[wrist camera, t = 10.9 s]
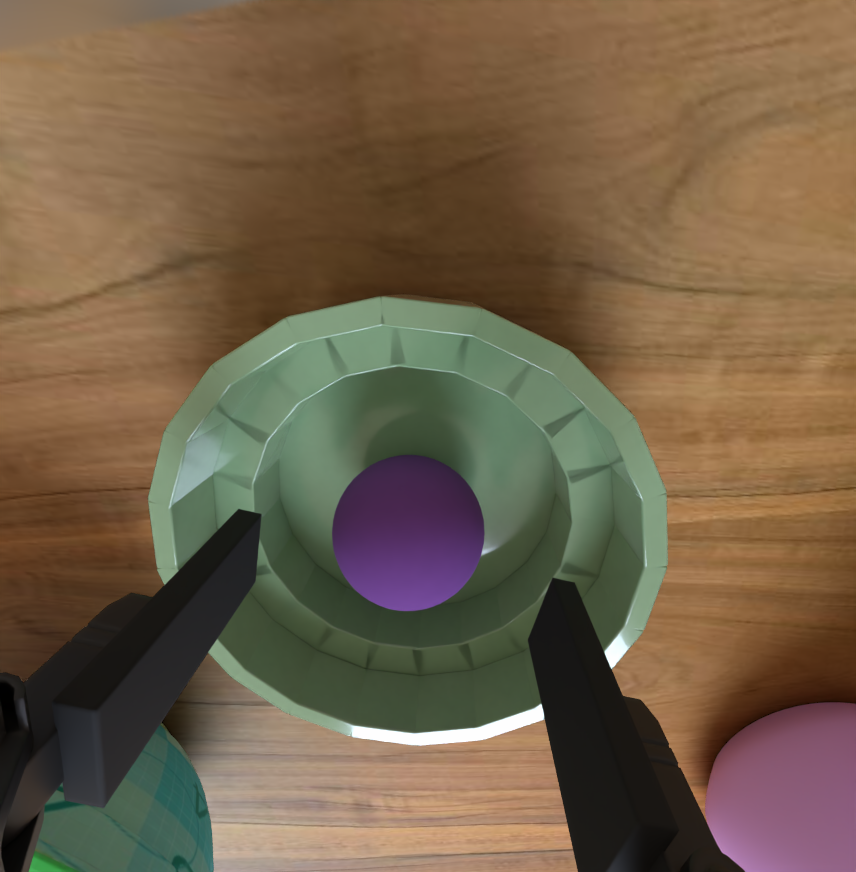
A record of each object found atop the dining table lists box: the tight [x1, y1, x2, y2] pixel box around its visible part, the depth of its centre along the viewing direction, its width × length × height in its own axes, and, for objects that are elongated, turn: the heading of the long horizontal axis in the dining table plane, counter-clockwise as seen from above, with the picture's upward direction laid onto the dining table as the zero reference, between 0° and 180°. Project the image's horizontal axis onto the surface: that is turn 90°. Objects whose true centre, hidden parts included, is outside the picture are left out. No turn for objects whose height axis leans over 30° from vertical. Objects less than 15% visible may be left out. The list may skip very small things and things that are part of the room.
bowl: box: [29, 722, 214, 872], centre depth 22 cm, size 22×22×10 cm
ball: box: [332, 455, 485, 611], centre depth 16 cm, size 6×6×6 cm
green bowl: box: [148, 294, 668, 746], centre depth 17 cm, size 18×18×6 cm
